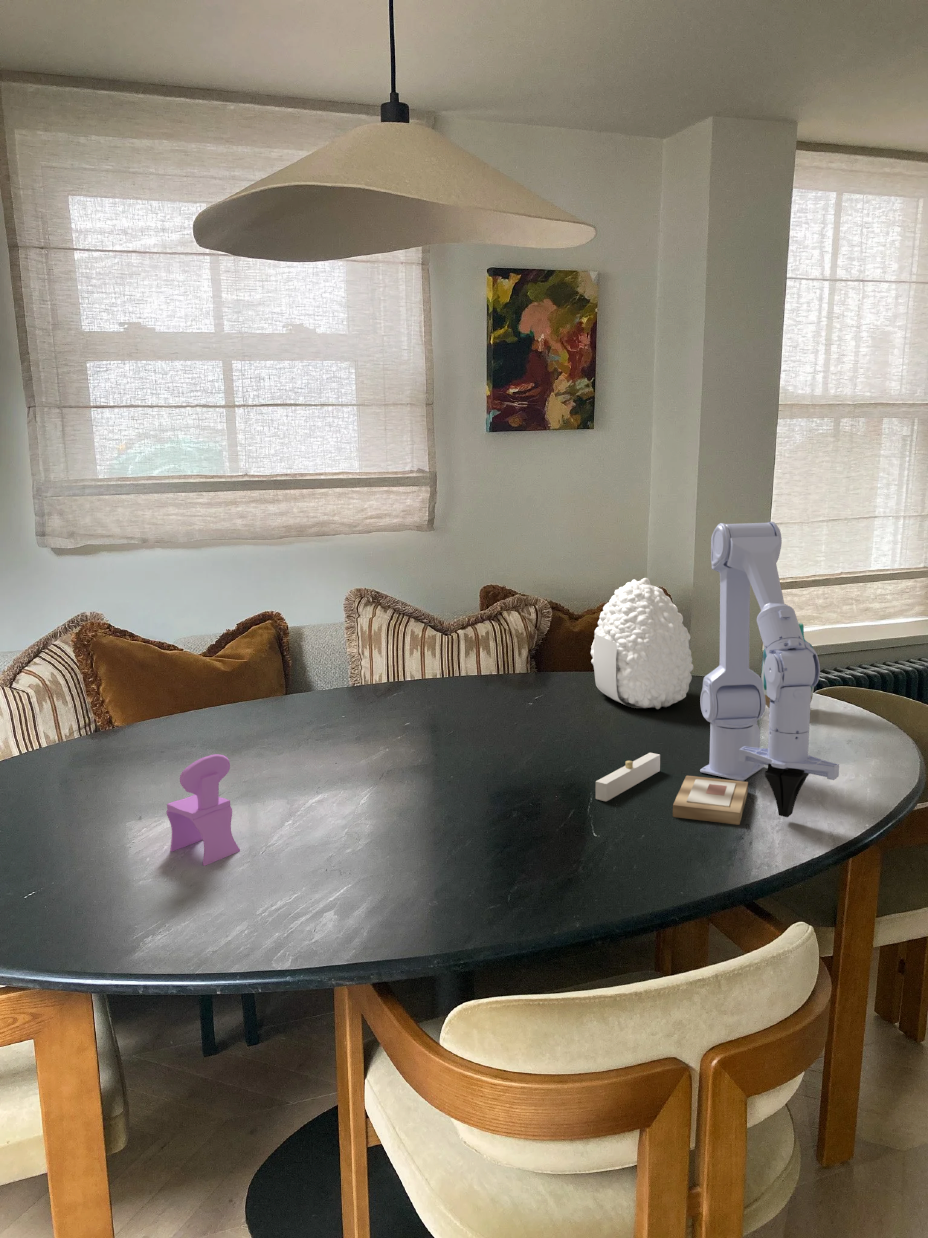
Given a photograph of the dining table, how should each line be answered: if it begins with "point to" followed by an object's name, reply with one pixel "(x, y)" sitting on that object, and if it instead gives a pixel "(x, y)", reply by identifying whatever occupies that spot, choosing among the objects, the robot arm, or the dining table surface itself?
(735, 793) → the frame
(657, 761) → the rail
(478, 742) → the dining table surface
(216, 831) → the toy chair
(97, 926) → the dining table surface
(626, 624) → the rice ball
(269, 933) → the dining table surface
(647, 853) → the dining table surface
